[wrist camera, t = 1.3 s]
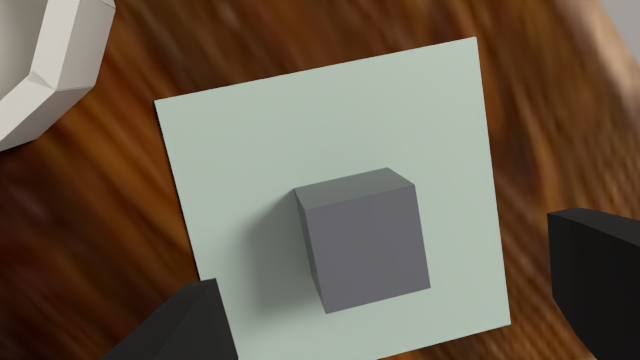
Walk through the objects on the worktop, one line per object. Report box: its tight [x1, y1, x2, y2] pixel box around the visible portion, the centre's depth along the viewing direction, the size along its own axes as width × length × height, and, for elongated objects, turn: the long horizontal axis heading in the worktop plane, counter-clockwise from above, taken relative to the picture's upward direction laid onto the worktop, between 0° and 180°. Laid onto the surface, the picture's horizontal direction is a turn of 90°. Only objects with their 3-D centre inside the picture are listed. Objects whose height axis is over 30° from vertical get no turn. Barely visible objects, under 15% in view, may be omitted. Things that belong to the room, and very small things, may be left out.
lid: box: [154, 37, 511, 360], centre depth 21 cm, size 13×13×4 cm
